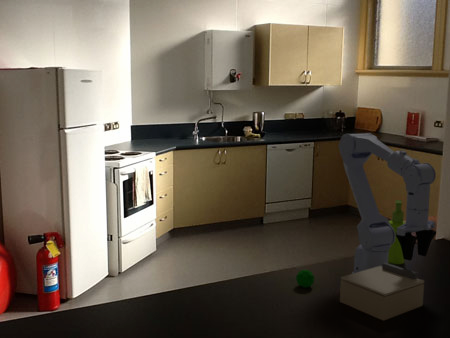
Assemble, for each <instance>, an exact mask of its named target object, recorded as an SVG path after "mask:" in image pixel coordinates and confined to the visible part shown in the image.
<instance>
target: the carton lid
mask: <svg viewBox="0 0 450 338" xmlns="http://www.w3.org/2000/svg"><path fill="white" fill-rule="evenodd" d="M340 280H345V281H348V282H350V283H353V284H355V285H358V286H361V287H363V288H366V289H368V290H371V291H373V292H376V293H379V294H381V295H384V296H387V295H390V294H392V293H395V292H398V291H401V290H404V289H407V288H410V287H413V286H416V285H419V284H422V283H423V284H425V280H424V279H420V278H418V272H415V271H412V270H410V269H406V268H403V267H400V266H397V265H395V264H392V263H383V265H382V266H378V267H374V268H371V269H367V270H364V271H360V272H357V273H353V274H352V273H350V274H348V275H343V276H340Z"/></svg>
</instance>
